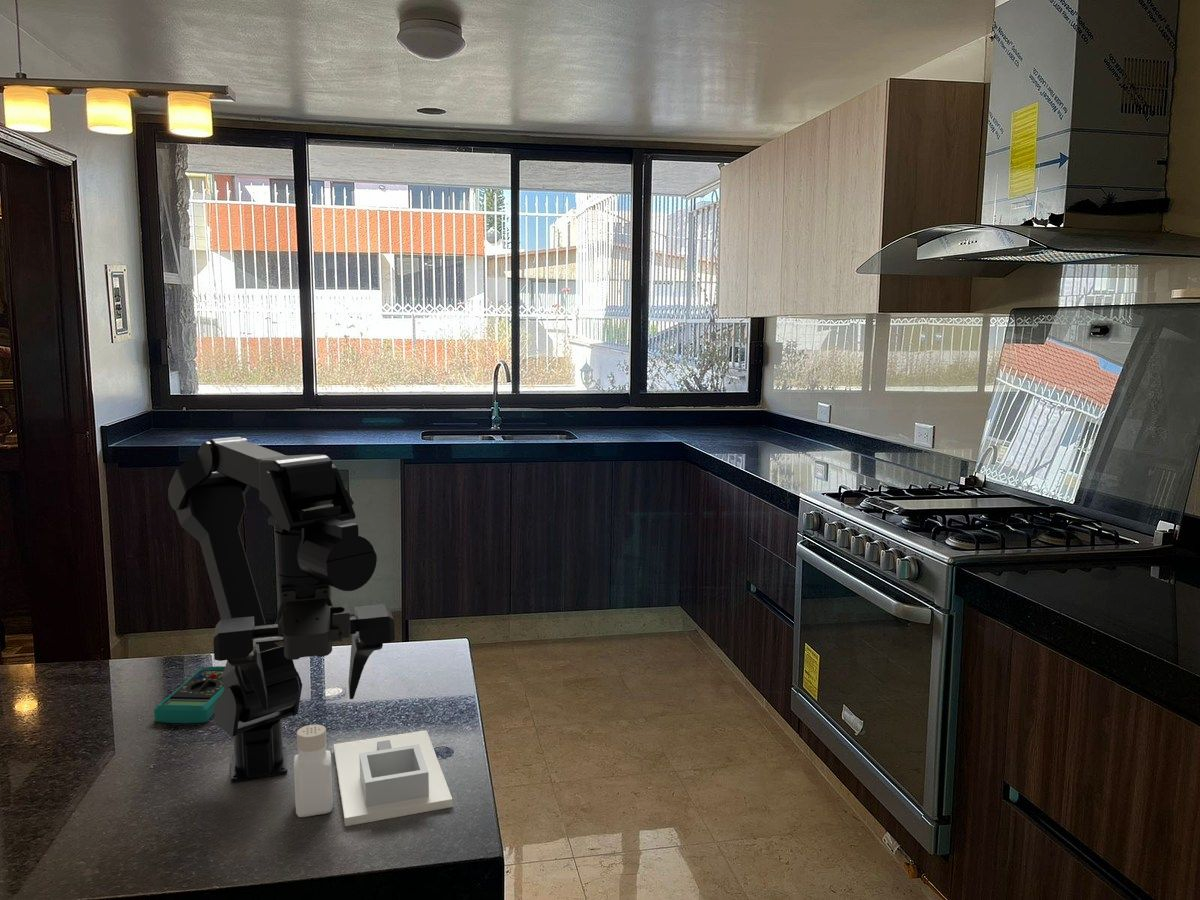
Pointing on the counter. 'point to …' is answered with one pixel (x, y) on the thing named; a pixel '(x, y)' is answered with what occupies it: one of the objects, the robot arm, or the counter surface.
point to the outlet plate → (389, 777)
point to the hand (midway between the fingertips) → (309, 703)
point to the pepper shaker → (312, 772)
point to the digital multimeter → (193, 698)
